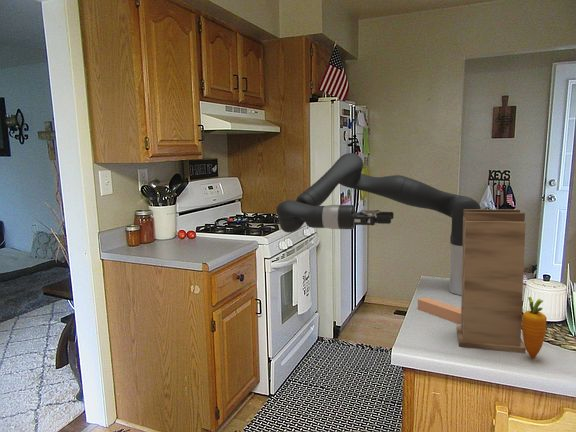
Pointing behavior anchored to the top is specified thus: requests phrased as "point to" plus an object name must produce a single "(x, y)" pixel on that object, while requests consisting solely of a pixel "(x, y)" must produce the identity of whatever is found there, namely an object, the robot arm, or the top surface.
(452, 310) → the bar
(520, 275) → the stand
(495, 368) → the top surface
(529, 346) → the carrot
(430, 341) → the top surface
